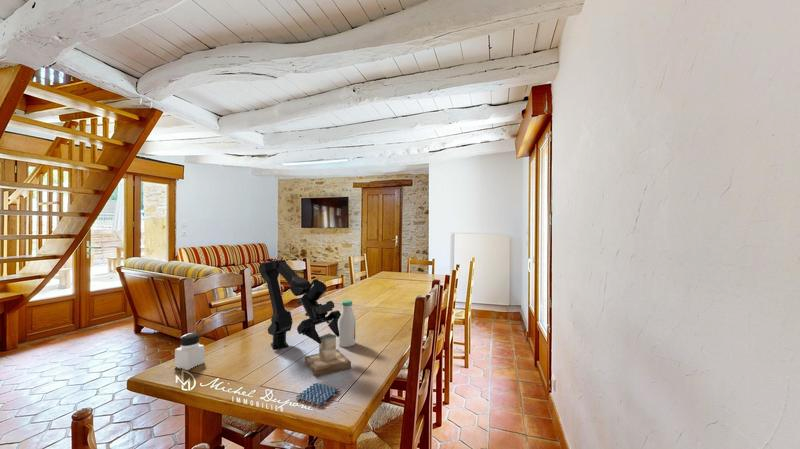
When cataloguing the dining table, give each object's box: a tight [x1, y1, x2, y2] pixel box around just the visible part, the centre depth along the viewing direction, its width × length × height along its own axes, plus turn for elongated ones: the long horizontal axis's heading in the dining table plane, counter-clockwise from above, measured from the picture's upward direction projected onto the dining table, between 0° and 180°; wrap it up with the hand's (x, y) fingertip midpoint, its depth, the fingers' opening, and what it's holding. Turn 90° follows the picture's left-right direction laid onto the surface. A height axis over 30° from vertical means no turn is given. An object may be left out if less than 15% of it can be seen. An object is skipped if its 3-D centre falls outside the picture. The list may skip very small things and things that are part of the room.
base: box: [304, 348, 352, 378], centre depth 126 cm, size 14×14×3 cm
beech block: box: [318, 332, 337, 362], centre depth 126 cm, size 4×5×9 cm
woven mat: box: [295, 382, 341, 409], centre depth 104 cm, size 10×11×2 cm
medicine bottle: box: [174, 332, 206, 371], centre depth 125 cm, size 7×7×12 cm
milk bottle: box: [337, 300, 356, 348], centre depth 147 cm, size 8×8×20 cm
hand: (329, 339), depth 125 cm, fingers open, 9 cm apart
